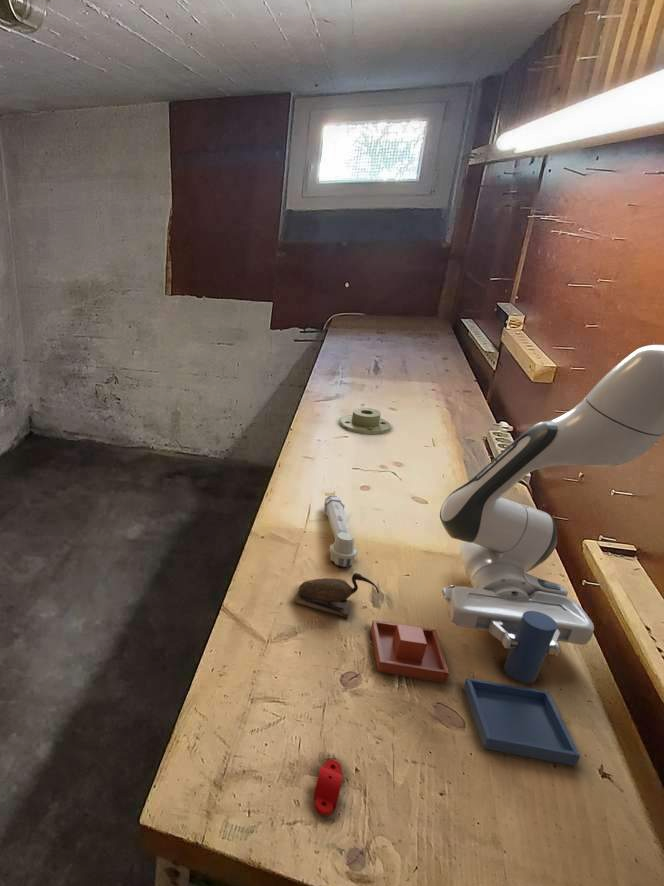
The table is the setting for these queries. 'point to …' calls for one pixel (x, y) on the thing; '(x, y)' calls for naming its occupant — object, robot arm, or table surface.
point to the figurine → (329, 594)
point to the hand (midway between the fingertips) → (532, 648)
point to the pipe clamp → (328, 787)
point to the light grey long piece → (340, 533)
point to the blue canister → (530, 646)
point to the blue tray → (519, 721)
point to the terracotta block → (409, 643)
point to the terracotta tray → (388, 663)
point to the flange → (365, 422)
